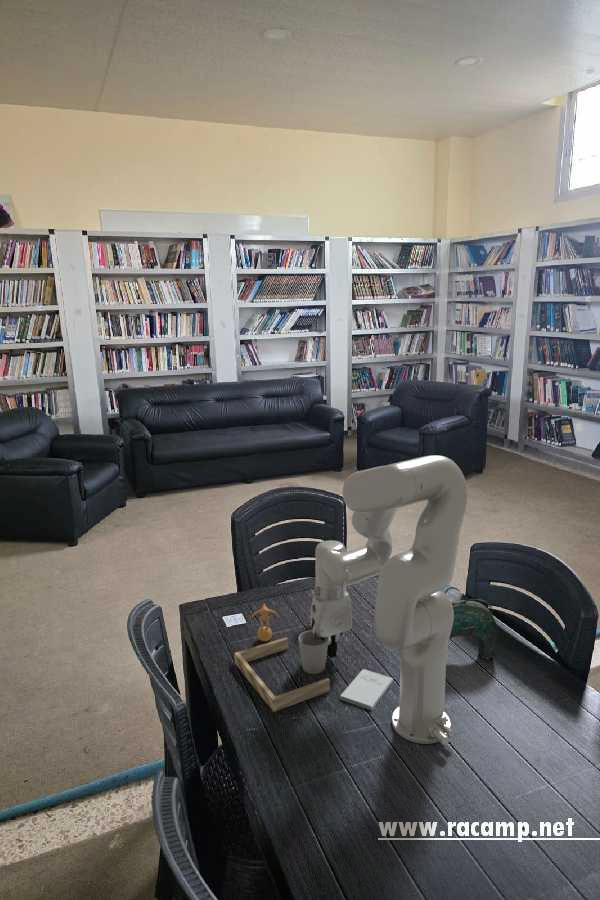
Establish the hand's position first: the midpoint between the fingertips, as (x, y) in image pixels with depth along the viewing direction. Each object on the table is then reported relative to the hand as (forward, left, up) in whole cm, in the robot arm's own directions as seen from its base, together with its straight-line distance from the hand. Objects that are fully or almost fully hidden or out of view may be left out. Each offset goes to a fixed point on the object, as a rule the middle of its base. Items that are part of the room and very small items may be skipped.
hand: (330, 654), depth 160 cm
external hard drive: (-15, -1, -2) cm, 15 cm away
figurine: (+16, +11, -2) cm, 19 cm away
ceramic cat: (-15, -29, -2) cm, 33 cm away
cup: (0, +5, -2) cm, 5 cm away
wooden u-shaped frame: (0, +14, -1) cm, 14 cm away
